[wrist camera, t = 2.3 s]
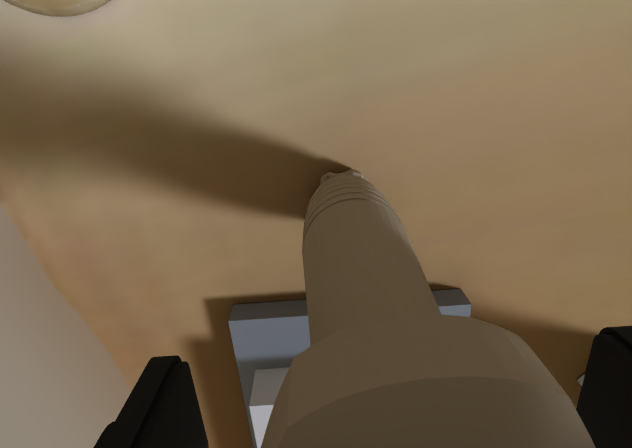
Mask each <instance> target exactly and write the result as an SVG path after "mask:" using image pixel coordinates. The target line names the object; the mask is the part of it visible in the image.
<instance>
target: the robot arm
mask: <svg viewBox="0 0 632 448" xmlns="http://www.w3.org/2000/svg"><path fill="white" fill-rule="evenodd" d="M576 411H577V412H578V414H579V416H580V418H581V420H582V422H583V424H584V426H585V427H586V429H587V431H588V433H589V435H590V437H591V439H592V441H593V443H594V445H595V447H596V448H632V326H621V327H607V328H603V329H602V330H601V331H600V333H599V335H596V336H595V338H594V340H593V344H592V348H591V352H590V356H589V360H588V364H587V368H586V372H585V376H584V380H583V384H582V388H581V392H580V396H579V400H578V404H577V408H576ZM94 448H209V446H208V440H207V436H206V432H205V428H204V424H203V420H202V416H201V412H200V408H199V404H198V400H197V396H196V392H195V388H194V384H193V379H192V375H191V371H190V367H189V364H188V363H187V362H182V361H181V358H180V357H179V356H162V357H153V358H151V359H150V361H149V362H148V364H147V366H146V367H145V369H144V371H143V373H142V374H141V376H140V378H139V380H138V382H137V383H136V385H135V387H134V389H133V390H132V392H131V394H130V396H129V398H128V399H127V401H126V403H125V405H124V407H123V408H122V410H121V412H120V413H119V415H118V417H117V419H116V421H115V422H112V423H111V424H109V425H108V426H107V427H106V428H105V430H104V431H103V433H102V434H101V436H100V438H99V439H98V441H97V443H96V445H95V446H94Z"/></svg>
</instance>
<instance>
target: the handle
mask: <svg viewBox="0 0 632 448" xmlns="http://www.w3.org/2000/svg"><path fill="white" fill-rule="evenodd" d="M302 255H303V266H304V277H305V288H306V299H307V309H308V322H309V335H310V347H309V348H307V349H306V350H304V351H303V352H301V353H300V354H299V355H297V356H296V357H294V359H293V361H292V363H291V365H290V367H289V369H288V371H287V373H286V376H285V378H284V381H283V383H282V385H281V388H280V390H279V392H278V395H277V397H276V400H275V403H274V406H273V409H272V412H271V415H270V418H269V421H268V424H267V428H266V431H265V435H264V438H263V442H262V445H261V448H596V447H595V445H594V443H593V441H592V439H591V437H590V435H589V433H588V431H587V429H586V427H585V426H584V424H583V422H582V420H581V418H580V416H579V414H578V412H577V411H576V409H575V407H574V405H573V403H572V401H571V399H570V398H569V396H568V395H567V394H566V393H565V391H564V390H563V389H562V387H561V386H560V385H559V383H558V382H557V381H556V380H555V378H554V377H553V376H552V374H551V373H550V372H549V371H548V369H547V368H546V367H545V365H544V364H543V363H542V362H541V360H540V359H539V358H538V357H537V355H536V354H535V353H534V352H533V350H532V349H531V348H530V347H529V346H528V345H527V343H526V342H525V341H524V340H523V339H522V338H521V337H520V336H518V335H517V334H515V333H513V332H511V331H509V330H506V329H504V328H502V327H500V326H497V325H495V324H492V323H489V322H485V321H482V320H478V319H475V318H472V317H464V316H453V315H442V314H441V312H440V310H439V307H438V305H437V303H436V301H435V298H434V296H433V294H432V291H431V289H430V287H429V284H428V282H427V280H426V277H425V275H424V273H423V270H422V268H421V265H420V263H419V261H418V258H417V256H416V253H415V251H414V248H413V246H412V244H411V241H410V239H409V236H408V234H407V232H406V229H405V228H404V226H403V224H402V222H401V220H400V219H399V217H398V215H397V214H396V212H395V210H394V209H393V207H392V206H391V204H390V203H389V202H388V201H387V199H386V198H385V197H384V195H383V194H382V193H381V192H380V191H379V190H378V189H377V188H376V187H375V186H374V185H372V184H371V183H369V182H368V181H366V180H364V179H363V176H362V174H361V173H360V172H358V171H356V170H353V169H349V170H348V171H346V172H343V173H332V172H327V173H325V174H324V175H323V176H322V177H321V181H320V186H319V187H318V188H317V189H316V191H315V193H314V194H313V196H312V197H311V199H310V202H309V205H308V208H307V212H306V217H305V222H304V231H303V246H302Z"/></svg>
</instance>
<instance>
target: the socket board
mask: <svg viewBox="0 0 632 448" xmlns="http://www.w3.org/2000/svg"><path fill="white" fill-rule="evenodd" d="M432 294H433V296H434V298H435V301H436V303H437V305H438V307H439V310H440V312H441V314H442V315H453V316H464V317H470V312H471V303H470V302H469V300H468V299H467V297H466V296H465V294H464V293H463V291H462V290H461V289H450V290H435V291H432ZM228 323H229V328H230V333H231V338H232V343H233V348H234V353H235V358H236V363H237V368H238V373H239V378H240V383H241V388H242V393H243V398H244V403H245V408H246V413H247V418H248V423H249V428H250V433H251V438H252V443H253V448H261V445H262V442H263V438H264V435H265V431H266V428H267V424H268V421H269V418H270V415H271V412H272V409H273V406H274V403H275V400H276V397H277V395H278V392H279V390H280V388H281V385H282V383H283V381H284V378H285V376H286V373H287V371H288V369H289V367H290V365H291V363H292V361H293V359H294V357H296V356H297V355H299V354H300V353H301V352H303V351H304V350H306V349H307V348H309V347H310V335H309V322H308V309H307V300H292V301H278V302H264V303H249V304H235V305H233V307H232V311H231V314H230V317H229V320H228Z"/></svg>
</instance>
